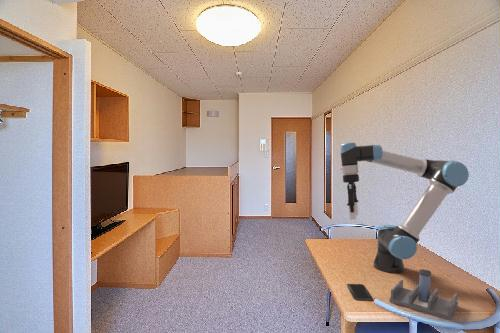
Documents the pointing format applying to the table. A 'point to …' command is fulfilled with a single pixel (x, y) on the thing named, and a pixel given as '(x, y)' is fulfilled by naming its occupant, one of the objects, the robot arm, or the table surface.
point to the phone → (359, 292)
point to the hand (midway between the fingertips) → (354, 217)
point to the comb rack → (433, 305)
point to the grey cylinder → (424, 285)
